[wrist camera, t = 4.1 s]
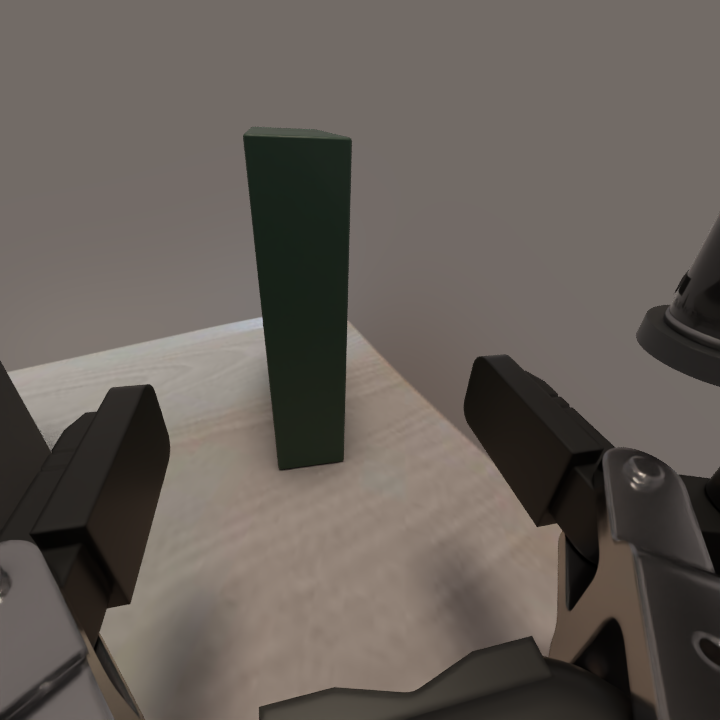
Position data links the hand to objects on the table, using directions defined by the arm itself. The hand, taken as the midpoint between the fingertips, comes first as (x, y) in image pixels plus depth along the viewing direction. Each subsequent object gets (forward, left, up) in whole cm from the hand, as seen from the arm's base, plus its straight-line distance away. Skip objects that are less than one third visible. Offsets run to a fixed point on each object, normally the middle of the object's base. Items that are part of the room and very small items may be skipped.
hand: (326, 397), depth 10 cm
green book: (+2, -10, -8) cm, 13 cm away
